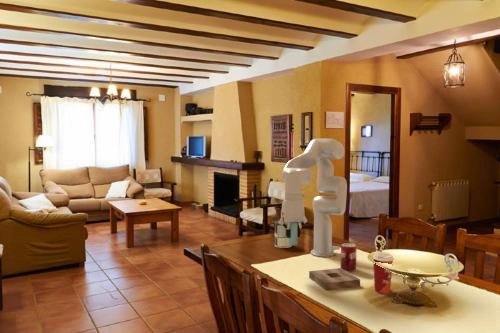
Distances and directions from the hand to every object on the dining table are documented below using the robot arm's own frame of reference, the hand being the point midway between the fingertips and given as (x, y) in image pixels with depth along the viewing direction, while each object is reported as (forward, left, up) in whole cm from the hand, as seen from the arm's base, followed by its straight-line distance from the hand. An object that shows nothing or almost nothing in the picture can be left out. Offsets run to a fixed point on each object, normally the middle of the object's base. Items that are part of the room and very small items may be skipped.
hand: (293, 236), depth 185 cm
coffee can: (-16, -50, -18) cm, 55 cm away
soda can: (-29, 0, -18) cm, 34 cm away
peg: (0, 0, -3) cm, 3 cm away
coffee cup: (-28, +28, -18) cm, 43 cm away
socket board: (-14, +13, -18) cm, 26 cm away
